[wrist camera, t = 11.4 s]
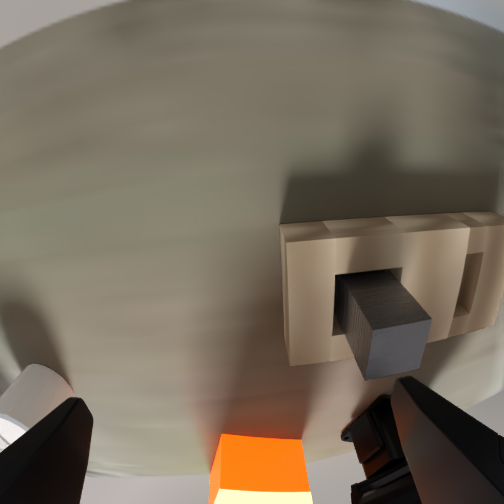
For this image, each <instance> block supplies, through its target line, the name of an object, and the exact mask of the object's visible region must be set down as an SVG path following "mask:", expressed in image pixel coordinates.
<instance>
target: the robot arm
mask: <svg viewBox="0 0 504 504" xmlns="http://www.w3.org/2000/svg"><path fill="white" fill-rule="evenodd" d="M92 428H93V416H92V414H91V412H90V411H89V409H88V407H87V405H86V404H85V402H84V400H83V399H81V398H78V397H69V398H67V399H66V400H65V401H64V402H62V403H61V404H60V405H59V406H57V407H56V408H55V409H54V410H52V411H51V412H50V413H49V414H48V415H46V416H45V417H44V418H43V419H41V420H40V421H39V422H38V423H36V424H35V425H34V426H33V427H31V428H30V429H29V430H28V431H27V432H25V433H24V434H23V435H22V436H20V437H19V438H18V439H17V440H15V441H14V442H13V443H12V444H10V445H9V446H8V447H7V448H5V449H4V450H3V451H2V452H1V453H0V504H80V499H81V494H82V489H83V484H84V479H85V475H86V470H87V465H88V459H89V451H90V443H91V436H92ZM341 440H342V441H347V442H353V443H354V447H355V450H356V453H357V457H358V459H359V462H360V463H361V464H362V466H363V469H364V472H365V476H366V480H364V481H362V482H360V483H355V484H353V485H351V491H352V493H351V503H352V504H504V437H502V436H501V435H498V433H496V432H495V431H493V430H492V429H490V428H488V427H487V426H485V425H484V424H482V423H481V422H479V421H478V420H476V419H475V418H473V417H472V416H470V415H469V414H467V413H466V412H464V411H463V410H461V409H460V408H458V407H457V406H455V405H454V404H452V403H451V402H449V401H448V400H446V399H445V398H443V397H442V396H440V395H439V394H437V393H436V392H434V391H433V390H431V389H430V388H428V387H427V386H425V385H424V384H422V383H421V382H420V381H418V380H417V379H415V378H414V377H412V376H405V377H400V378H398V379H397V380H396V382H395V385H394V389H393V392H392V396H388V395H382V396H380V397H379V398H378V399H377V400H376V401H375V402H374V403H373V404H372V405H371V406H370V407H369V408H368V409H367V410H366V411H365V412H364V413H363V414H362V415H361V416H360V417H359V418H358V419H357V420H356V421H355V422H354V423H353V424H352V425H351V426H350V427H349V428H348V429H347V430H346V431H345V432H344V433H343V434H342V435H341Z"/></svg>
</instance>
